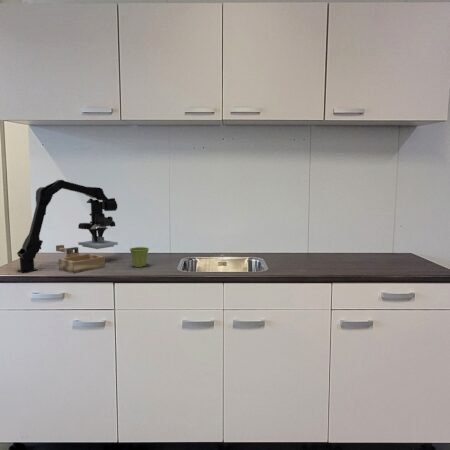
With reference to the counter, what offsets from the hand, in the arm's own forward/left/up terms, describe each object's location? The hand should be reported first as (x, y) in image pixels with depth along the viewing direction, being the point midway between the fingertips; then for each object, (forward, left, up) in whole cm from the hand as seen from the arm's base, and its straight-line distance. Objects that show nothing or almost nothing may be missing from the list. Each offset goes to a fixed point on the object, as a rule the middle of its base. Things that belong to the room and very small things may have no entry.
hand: (97, 241), depth 193 cm
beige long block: (-6, -15, -4) cm, 17 cm away
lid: (0, 0, -3) cm, 3 cm away
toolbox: (+8, -15, -10) cm, 20 cm away
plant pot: (+28, +4, -11) cm, 30 cm away
